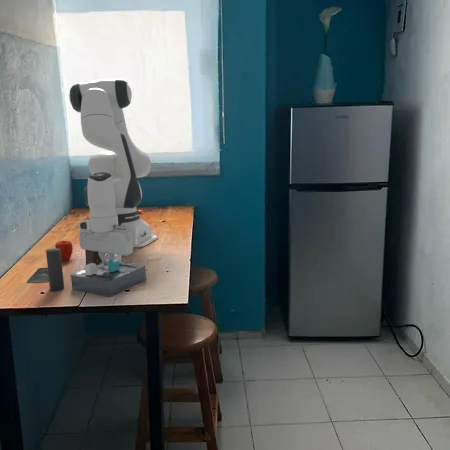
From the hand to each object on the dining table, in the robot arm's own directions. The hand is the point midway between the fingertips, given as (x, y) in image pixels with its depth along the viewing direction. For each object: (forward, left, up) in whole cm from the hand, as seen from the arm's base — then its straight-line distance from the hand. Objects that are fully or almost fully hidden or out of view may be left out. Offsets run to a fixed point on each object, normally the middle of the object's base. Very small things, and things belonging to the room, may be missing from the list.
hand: (107, 265), depth 175 cm
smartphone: (+3, -28, -7) cm, 29 cm away
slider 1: (+6, -2, -1) cm, 6 cm away
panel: (0, 0, -7) cm, 7 cm away
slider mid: (0, +2, -1) cm, 3 cm away
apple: (-14, -35, -7) cm, 38 cm away
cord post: (+10, -13, -7) cm, 18 cm away
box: (-8, -13, -7) cm, 17 cm away
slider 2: (-6, -2, -1) cm, 7 cm away
